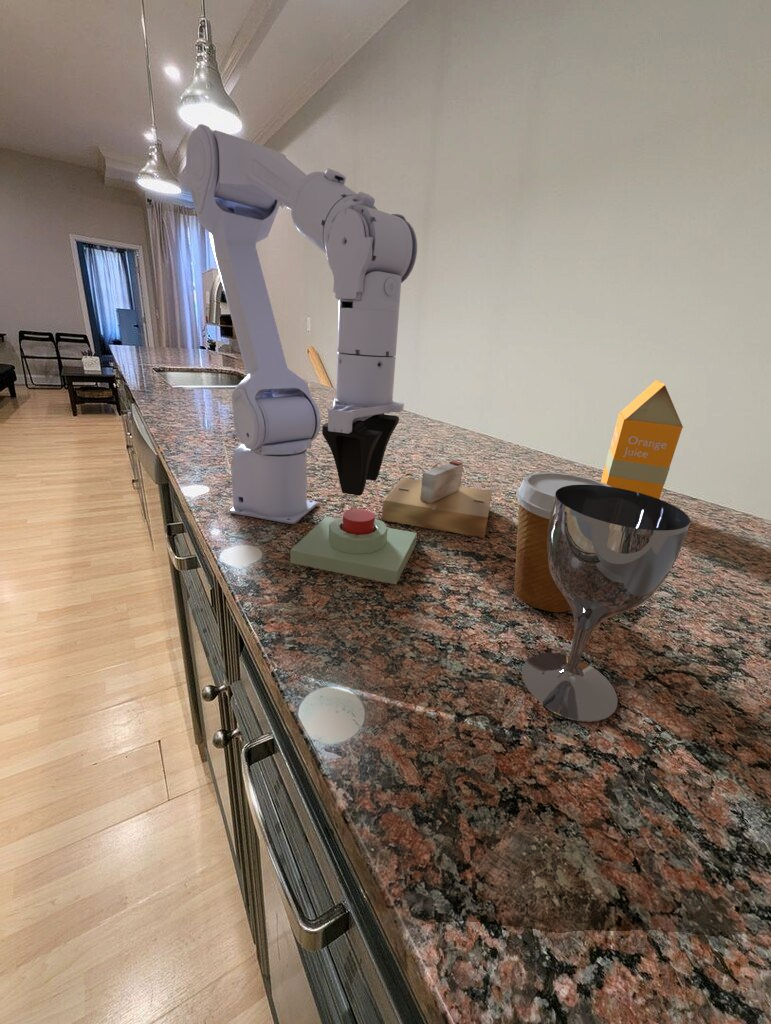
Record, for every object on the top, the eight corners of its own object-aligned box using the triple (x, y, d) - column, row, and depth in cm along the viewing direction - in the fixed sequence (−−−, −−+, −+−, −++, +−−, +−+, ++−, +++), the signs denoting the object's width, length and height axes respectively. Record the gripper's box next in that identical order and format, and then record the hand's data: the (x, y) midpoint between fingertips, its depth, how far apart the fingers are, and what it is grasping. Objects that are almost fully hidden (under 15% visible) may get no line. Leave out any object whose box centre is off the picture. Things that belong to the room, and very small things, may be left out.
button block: (290, 563, 49) (289, 534, 47) (325, 528, 58) (326, 503, 56) (396, 585, 46) (398, 555, 45) (415, 545, 55) (418, 519, 54)
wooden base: (380, 522, 61) (381, 500, 60) (401, 494, 72) (402, 475, 71) (483, 540, 58) (487, 517, 57) (489, 507, 69) (492, 488, 68)
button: (337, 532, 50) (338, 518, 49) (348, 520, 53) (349, 507, 52) (368, 538, 49) (369, 523, 48) (377, 525, 52) (378, 512, 51)
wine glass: (501, 650, 38) (536, 482, 32) (590, 650, 39) (639, 486, 33) (538, 728, 30) (592, 528, 25) (647, 725, 31) (723, 532, 26)
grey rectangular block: (430, 503, 60) (434, 473, 59) (419, 500, 61) (422, 470, 60) (459, 490, 66) (463, 462, 64) (449, 487, 67) (453, 460, 65)
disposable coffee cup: (604, 630, 41) (641, 511, 37) (499, 612, 43) (522, 496, 38) (583, 579, 50) (611, 477, 45) (496, 566, 52) (515, 466, 47)
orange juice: (598, 511, 70) (633, 380, 63) (596, 495, 78) (627, 376, 70) (653, 522, 68) (697, 387, 60) (645, 503, 75) (684, 382, 68)
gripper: (386, 361, 36) (376, 515, 41) (421, 355, 49) (410, 472, 54) (306, 354, 38) (306, 503, 43) (360, 350, 51) (355, 464, 56)
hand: (360, 485), depth 49 cm, fingers open, 5 cm apart
